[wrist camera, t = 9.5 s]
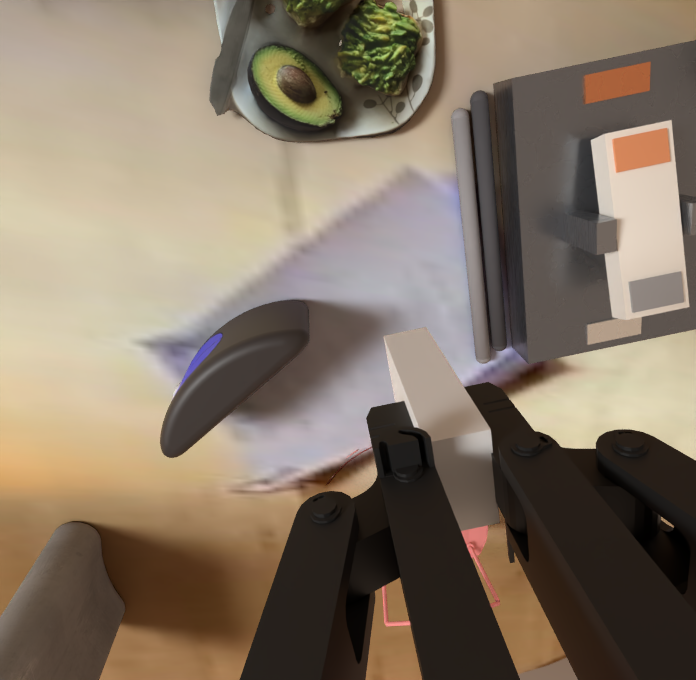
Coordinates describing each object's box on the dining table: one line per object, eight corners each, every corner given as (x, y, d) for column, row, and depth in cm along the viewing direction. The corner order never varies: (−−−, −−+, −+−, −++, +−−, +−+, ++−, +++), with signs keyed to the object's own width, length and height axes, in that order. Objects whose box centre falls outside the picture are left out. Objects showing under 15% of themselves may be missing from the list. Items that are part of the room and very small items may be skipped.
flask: (39, 524, 54) (-98, 725, 36) (95, 517, 54) (-14, 713, 36) (81, 623, 60) (-20, 841, 41) (130, 616, 60) (53, 830, 42)
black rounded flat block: (278, 272, 46) (272, 304, 37) (313, 307, 48) (315, 346, 39) (157, 382, 49) (126, 435, 40) (193, 412, 51) (170, 470, 42)
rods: (447, 97, 42) (451, 96, 40) (710, 42, 42) (723, 39, 40) (474, 361, 51) (479, 367, 50) (689, 316, 51) (700, 321, 50)
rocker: (590, 140, 39) (605, 133, 37) (654, 127, 39) (673, 119, 37) (612, 317, 41) (627, 320, 39) (672, 304, 41) (691, 307, 39)
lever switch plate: (493, 83, 42) (541, 70, 33) (684, 43, 42) (782, 20, 33) (512, 347, 51) (553, 389, 42) (668, 314, 51) (742, 350, 42)
